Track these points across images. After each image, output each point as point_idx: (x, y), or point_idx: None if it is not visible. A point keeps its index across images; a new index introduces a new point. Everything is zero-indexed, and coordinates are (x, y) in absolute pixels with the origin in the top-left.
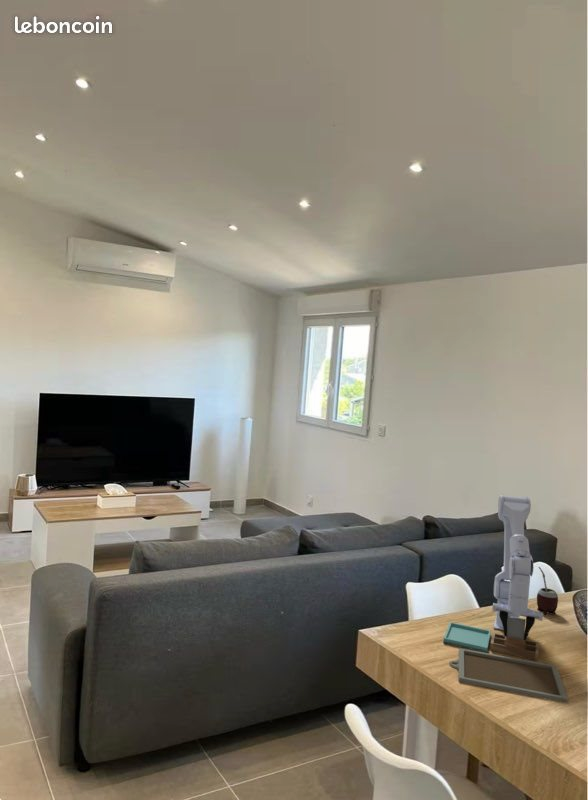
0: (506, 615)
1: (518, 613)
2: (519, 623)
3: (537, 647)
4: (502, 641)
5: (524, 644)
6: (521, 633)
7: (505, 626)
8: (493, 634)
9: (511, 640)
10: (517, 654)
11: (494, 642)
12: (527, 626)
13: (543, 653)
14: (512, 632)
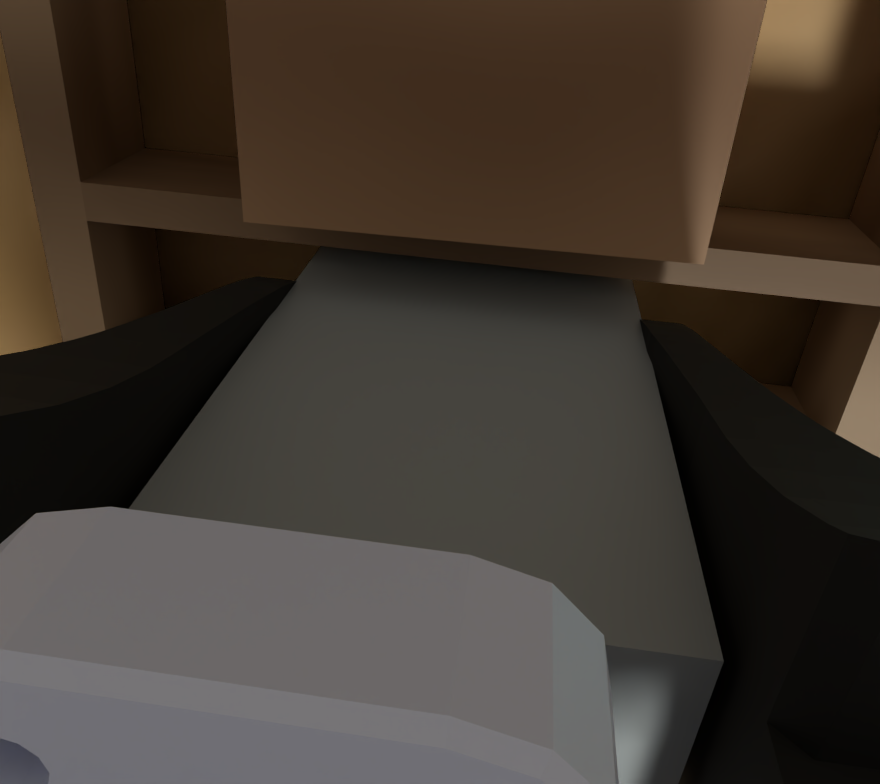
0: (850, 732)
1: (60, 666)
2: (314, 515)
3: (46, 165)
4: (716, 237)
5: None
6: (312, 350)
7: (748, 413)
8: (871, 422)
9: (571, 48)
10: None
11: (856, 233)
12: (43, 385)
13: (38, 234)
14: (525, 370)
